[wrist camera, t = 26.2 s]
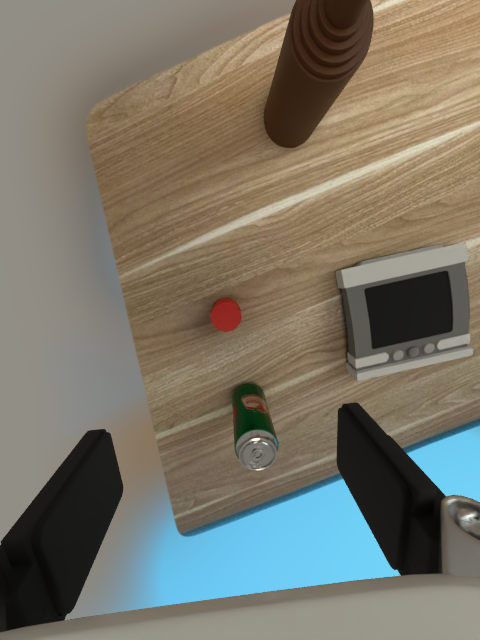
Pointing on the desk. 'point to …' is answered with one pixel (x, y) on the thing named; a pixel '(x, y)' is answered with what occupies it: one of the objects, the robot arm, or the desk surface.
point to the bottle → (315, 65)
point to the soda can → (253, 428)
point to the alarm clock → (406, 310)
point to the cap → (225, 314)
